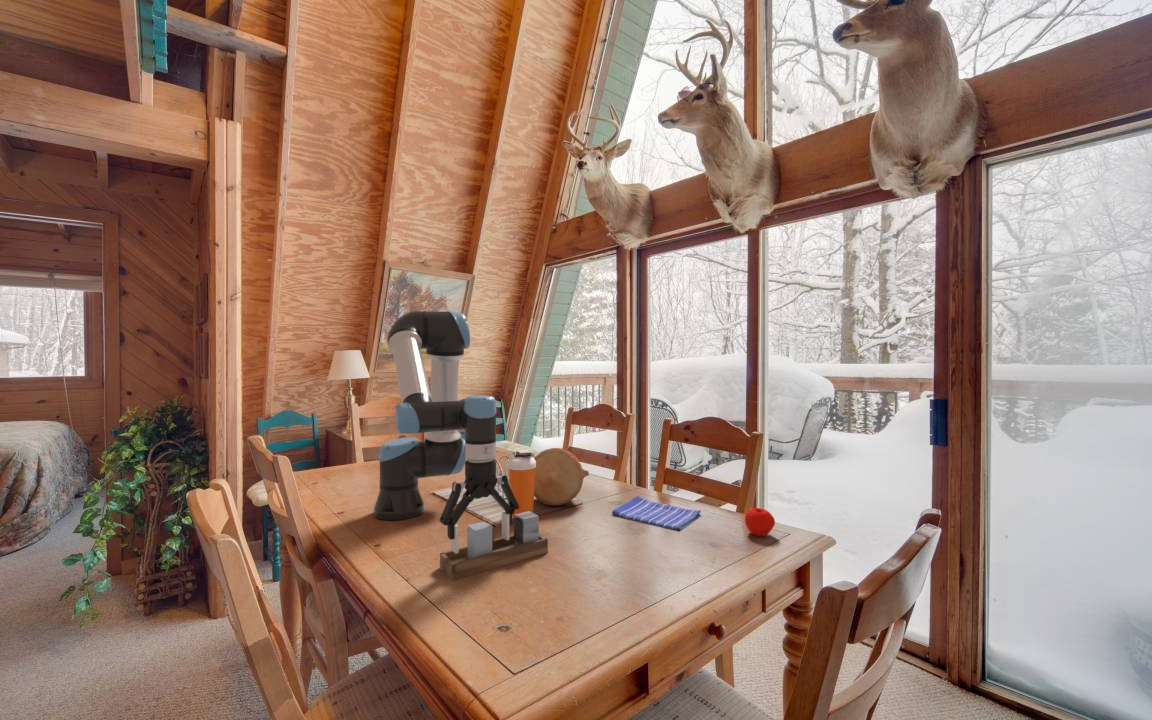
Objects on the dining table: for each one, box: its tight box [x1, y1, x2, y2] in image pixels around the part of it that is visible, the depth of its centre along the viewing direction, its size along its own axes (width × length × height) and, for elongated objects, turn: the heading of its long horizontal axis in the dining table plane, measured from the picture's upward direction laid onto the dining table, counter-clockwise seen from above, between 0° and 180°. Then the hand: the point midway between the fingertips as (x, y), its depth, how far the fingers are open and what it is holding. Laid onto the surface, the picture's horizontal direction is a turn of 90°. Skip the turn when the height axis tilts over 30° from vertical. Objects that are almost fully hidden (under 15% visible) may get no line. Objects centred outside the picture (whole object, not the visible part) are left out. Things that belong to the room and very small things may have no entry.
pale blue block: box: [466, 521, 495, 559], centre depth 125 cm, size 4×5×8 cm
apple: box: [744, 507, 776, 537], centre depth 145 cm, size 8×8×7 cm
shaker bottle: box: [506, 450, 536, 519], centre depth 159 cm, size 9×9×20 cm
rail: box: [439, 511, 549, 581], centre depth 127 cm, size 8×26×10 cm, turn 126°
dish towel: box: [611, 495, 702, 531], centre depth 161 cm, size 17×24×3 cm
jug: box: [533, 447, 590, 506], centre depth 179 cm, size 20×19×30 cm
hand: (481, 544), depth 125 cm, fingers open, 13 cm apart
